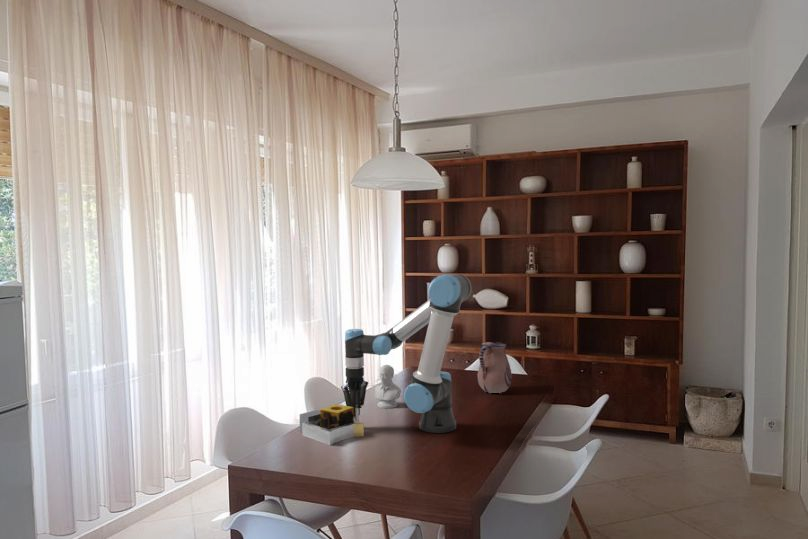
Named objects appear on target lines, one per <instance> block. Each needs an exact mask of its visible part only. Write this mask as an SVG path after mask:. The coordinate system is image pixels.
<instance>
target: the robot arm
mask: <svg viewBox="0 0 808 539" xmlns="http://www.w3.org/2000/svg"><path fill="white" fill-rule="evenodd" d="M471 293H472V284H471V281H470V280H469V278H468V277H467V276H466V275H463V274H462V273H444V274H443V273H442V274H440V275H438V276H436V277H434V278H433V279H432V280H431V282H430V283H429V286H428V290H427V294H428V298H429V299H428V300H427V301H426V302H424V303H423V304H421V305H420V306H418V308H417V309H415V310H413V311H412V312H411V313H410V314H408V315H407V316H406V317H404V318H403V319H402V320H401V321H399V322H398V323H397V324H395V325H394V326H393V327H391V328H390V329H389V330H387V331H386V332H383V333H380V334H376V335H375V334H374V335H370V334H369V335H367V334H364V330H363V329H360V328H350V329H347V330H345V333H344V334H345V335H344V348H345V355H344V356H345V358H344V359H345V360H344V361H345V365H344V366H345V377H346V381H345V384H344V385H341V387H340V389H341V390H342V393H343V398H344V402H345V406H350V407H354V423H360V418H359V417H360V416H361V414H360V413H361V409H362V407H363V406H364V404H365V399H366V393H367V388H368V386H369V382H368V381H367V380H366V381H365V379H364V375H365V369H364V368H365V367H364V366H365V364H364V363H365V362H364V361H365V359H364V357H365V356H364V354H367V355H376V356H377V355H378V356H386V355H389V354H390V352H391V350H395V349H398V348H399V347H400V346H402V345H403V343H404V342H405V341H406V340H408V339H409V338H410V337H411V336H413V335H414V334H416V333H417V332H419V331H420V330H421V329H422V328H424V327H425V326H427V330H426V335H425V338H424V343H423V347H422V351H421V355H420V360H419V364H418V368H417V370H415V371H414V372H413V373H412V377H411V380H410V384H409V385H407V387H406V388H405V389H404V393H403V400H404V403H405V405H406V406H407V408H408V409H409V410H411V411H412V412H414V413H416V414H421V415H420V420H419V422H418V428H419V430H421V431H422V432H427V433H430V434H431V433H432V434H444V433H450V432H453V431H455V430H456V429H457V420H456V418H455V416H454V412H453V408H452V381H453V380H452V374H451V373H450V372H447V371H442V368H443V362H444V358H445V355H446V350H447V346H448V341H449V336H450V334H451V329H452V324H453V321H454V318H455V316H456V315H458V314H459V313H460V310H461V304H462V303H463V302H465V301H467V299H469V297H470V296H471Z"/></svg>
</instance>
